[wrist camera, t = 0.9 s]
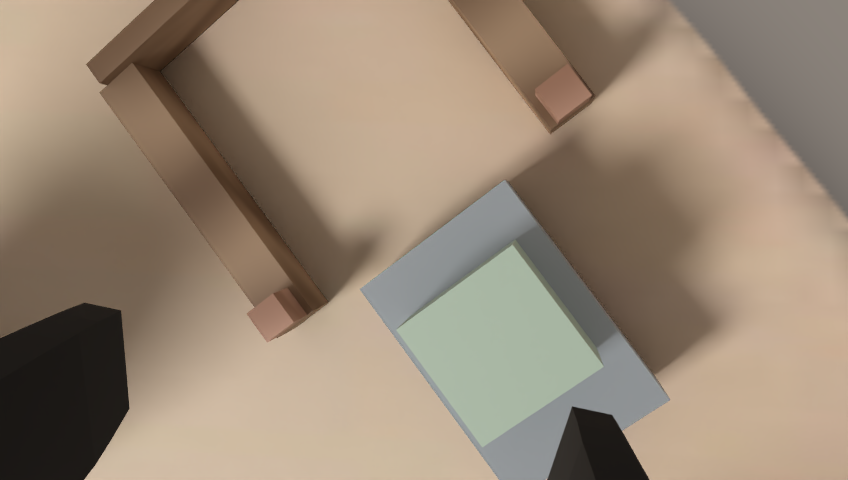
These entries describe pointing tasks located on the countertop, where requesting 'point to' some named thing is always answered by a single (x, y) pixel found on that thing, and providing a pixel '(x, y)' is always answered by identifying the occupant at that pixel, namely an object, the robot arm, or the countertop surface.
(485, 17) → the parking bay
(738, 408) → the countertop surface
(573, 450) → the robot arm
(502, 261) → the stacked grey base
